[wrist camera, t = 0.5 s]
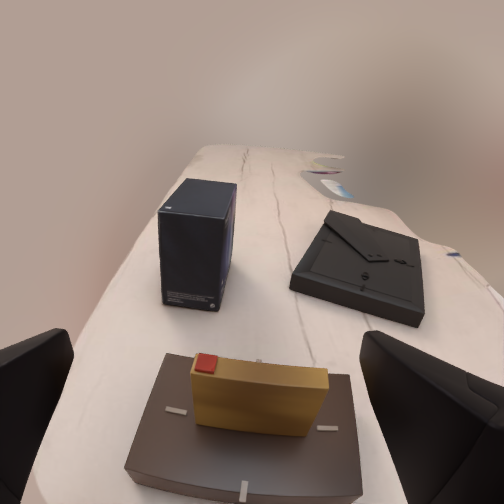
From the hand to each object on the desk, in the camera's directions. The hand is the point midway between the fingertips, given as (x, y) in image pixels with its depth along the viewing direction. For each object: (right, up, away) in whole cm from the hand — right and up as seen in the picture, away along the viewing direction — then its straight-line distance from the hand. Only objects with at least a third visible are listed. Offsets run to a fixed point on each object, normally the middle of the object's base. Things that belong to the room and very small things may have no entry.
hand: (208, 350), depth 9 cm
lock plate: (+1, -11, +11) cm, 15 cm away
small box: (-5, -1, +28) cm, 28 cm away
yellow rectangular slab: (+1, -8, +9) cm, 12 cm away
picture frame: (+17, +1, +34) cm, 38 cm away
